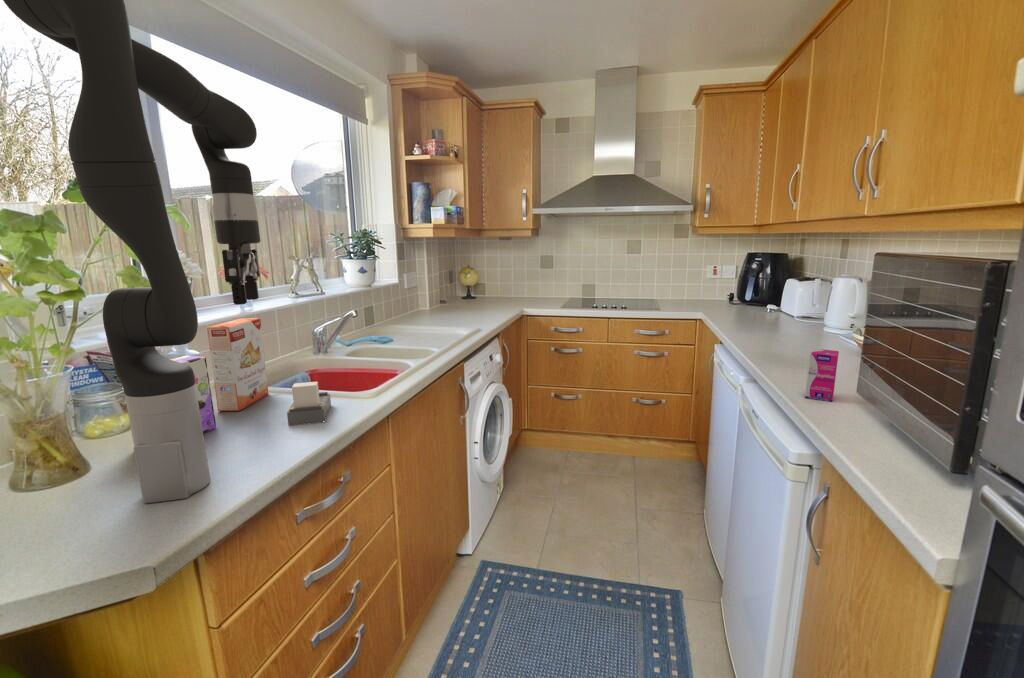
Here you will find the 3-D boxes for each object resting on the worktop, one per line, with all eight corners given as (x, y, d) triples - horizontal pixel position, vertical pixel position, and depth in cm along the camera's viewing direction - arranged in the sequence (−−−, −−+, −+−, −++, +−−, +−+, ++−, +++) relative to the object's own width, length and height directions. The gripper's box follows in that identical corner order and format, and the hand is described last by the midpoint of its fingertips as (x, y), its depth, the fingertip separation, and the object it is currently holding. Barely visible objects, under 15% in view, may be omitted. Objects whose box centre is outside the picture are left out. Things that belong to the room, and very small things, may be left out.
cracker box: (241, 411, 117) (229, 326, 113) (216, 412, 118) (204, 326, 113) (270, 393, 131) (261, 317, 127) (248, 394, 131) (238, 317, 127)
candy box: (155, 454, 94) (140, 372, 91) (133, 450, 96) (118, 370, 93) (217, 428, 107) (207, 355, 104) (198, 425, 109) (186, 353, 106)
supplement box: (804, 398, 118) (809, 352, 116) (806, 392, 123) (810, 347, 121) (832, 402, 115) (838, 355, 113) (833, 395, 120) (838, 350, 117)
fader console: (324, 422, 109) (323, 406, 109) (288, 425, 108) (286, 410, 107) (331, 405, 120) (329, 391, 120) (298, 408, 119) (296, 394, 118)
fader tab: (318, 406, 110) (315, 385, 109) (294, 408, 109) (291, 387, 108) (319, 402, 112) (317, 381, 112) (296, 404, 111) (294, 383, 110)
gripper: (246, 216, 89) (257, 305, 92) (266, 220, 102) (275, 297, 106) (200, 217, 87) (213, 307, 90) (226, 220, 101) (237, 298, 104)
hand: (247, 301), depth 98 cm, fingers open, 8 cm apart
